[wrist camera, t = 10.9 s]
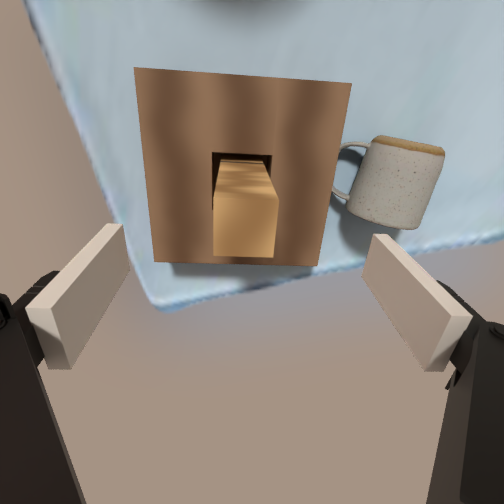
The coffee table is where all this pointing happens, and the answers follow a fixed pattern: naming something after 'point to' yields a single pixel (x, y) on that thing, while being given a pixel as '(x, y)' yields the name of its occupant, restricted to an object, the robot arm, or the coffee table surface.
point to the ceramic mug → (394, 181)
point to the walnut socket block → (237, 142)
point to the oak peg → (244, 208)
